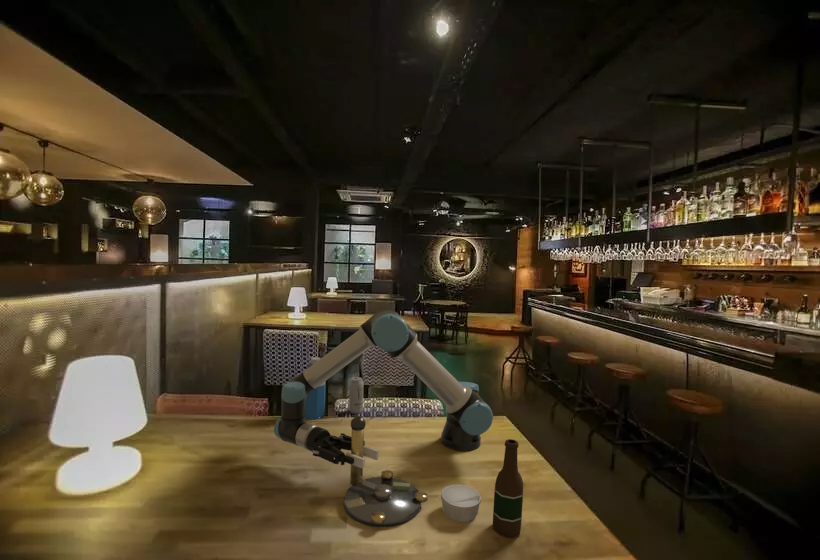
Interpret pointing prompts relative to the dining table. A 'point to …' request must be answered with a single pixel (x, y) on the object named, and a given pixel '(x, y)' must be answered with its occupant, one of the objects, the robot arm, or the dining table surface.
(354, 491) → the plate
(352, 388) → the energy drink can
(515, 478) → the beer bottle
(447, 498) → the ramekin
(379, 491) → the ball topped crank handle
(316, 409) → the water bottle
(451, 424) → the robot arm
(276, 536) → the dining table surface
